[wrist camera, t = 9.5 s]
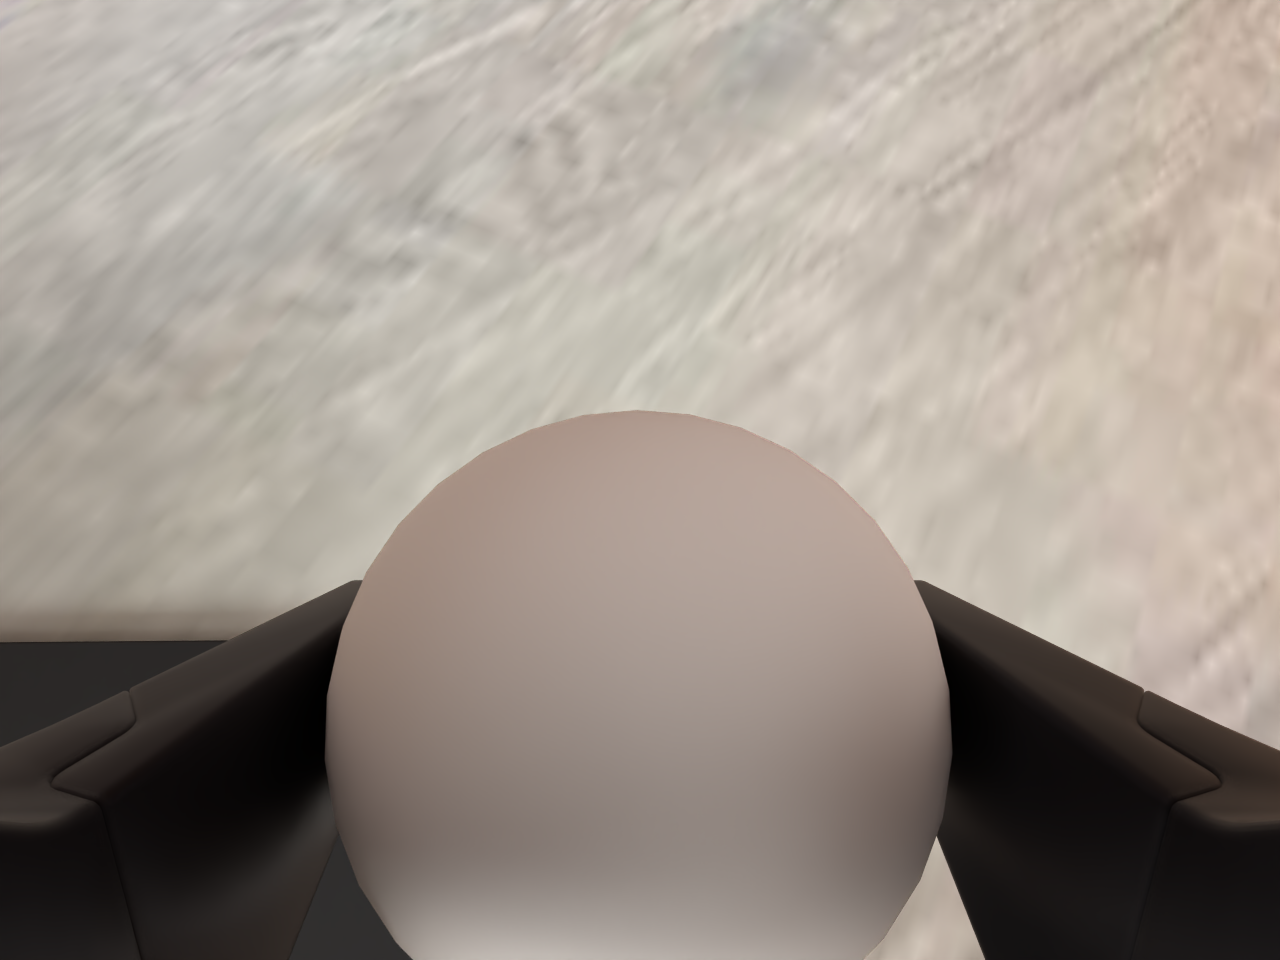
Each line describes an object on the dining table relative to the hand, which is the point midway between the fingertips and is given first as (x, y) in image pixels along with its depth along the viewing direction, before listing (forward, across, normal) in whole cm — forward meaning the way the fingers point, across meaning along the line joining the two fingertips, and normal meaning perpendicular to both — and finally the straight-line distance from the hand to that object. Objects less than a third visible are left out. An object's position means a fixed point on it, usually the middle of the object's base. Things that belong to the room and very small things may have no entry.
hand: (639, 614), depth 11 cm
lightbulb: (+4, 0, +6) cm, 7 cm away
